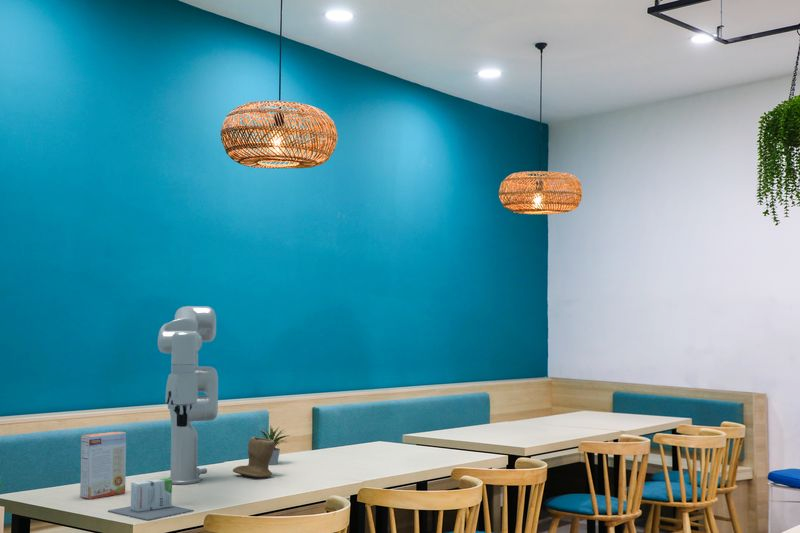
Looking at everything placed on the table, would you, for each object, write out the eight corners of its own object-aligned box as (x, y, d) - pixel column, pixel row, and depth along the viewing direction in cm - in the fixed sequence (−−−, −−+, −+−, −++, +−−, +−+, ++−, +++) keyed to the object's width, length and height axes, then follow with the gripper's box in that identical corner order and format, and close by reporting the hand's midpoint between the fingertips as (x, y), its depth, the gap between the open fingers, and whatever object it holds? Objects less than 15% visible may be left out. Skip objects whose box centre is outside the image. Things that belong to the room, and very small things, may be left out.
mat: (153, 503, 279) (153, 501, 279) (193, 511, 267) (193, 510, 267) (107, 511, 266) (107, 510, 266) (147, 520, 254) (147, 519, 254)
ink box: (165, 477, 275) (130, 481, 267) (172, 479, 271) (137, 483, 264) (164, 504, 275) (129, 509, 267) (172, 507, 271) (136, 512, 263)
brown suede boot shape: (280, 476, 330) (281, 437, 331) (255, 480, 321) (256, 440, 322) (256, 472, 340) (257, 433, 341) (231, 475, 332) (232, 436, 333)
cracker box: (116, 491, 299) (117, 430, 300) (125, 493, 295) (127, 432, 296) (78, 497, 288) (80, 434, 290) (88, 499, 284) (90, 435, 286)
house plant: (272, 468, 349) (272, 427, 350) (246, 465, 356) (246, 425, 357) (294, 463, 361) (294, 424, 362) (268, 461, 368) (269, 422, 370)
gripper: (193, 368, 289) (192, 423, 288) (156, 370, 277) (155, 427, 276) (208, 369, 285) (207, 425, 283) (171, 371, 273) (170, 429, 272)
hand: (181, 426), depth 280 cm, fingers closed
